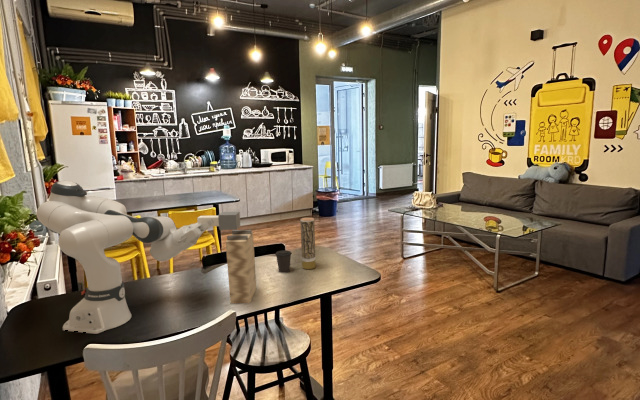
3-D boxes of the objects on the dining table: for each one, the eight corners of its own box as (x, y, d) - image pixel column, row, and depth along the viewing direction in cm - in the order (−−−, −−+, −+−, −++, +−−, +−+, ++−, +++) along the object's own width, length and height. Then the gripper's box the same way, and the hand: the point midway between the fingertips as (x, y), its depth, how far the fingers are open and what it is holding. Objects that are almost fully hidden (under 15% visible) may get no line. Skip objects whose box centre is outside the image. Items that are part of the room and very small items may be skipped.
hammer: (197, 230, 154) (195, 215, 152) (202, 226, 159) (201, 212, 158) (236, 229, 153) (235, 214, 152) (240, 225, 159) (239, 211, 158)
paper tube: (314, 270, 189) (312, 220, 184) (300, 269, 190) (298, 220, 186) (316, 265, 196) (315, 217, 191) (304, 264, 197) (302, 217, 192)
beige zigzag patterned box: (230, 303, 156) (225, 238, 150) (238, 289, 169) (234, 228, 164) (250, 303, 155) (245, 237, 150) (256, 288, 169) (252, 228, 164)
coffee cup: (272, 271, 189) (271, 251, 187) (284, 266, 195) (284, 247, 193) (283, 275, 184) (282, 255, 182) (295, 270, 190) (295, 250, 188)
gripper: (171, 237, 147) (201, 219, 145) (191, 224, 167) (217, 208, 165) (181, 250, 148) (210, 233, 146) (199, 236, 168) (225, 220, 166)
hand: (214, 219), depth 156 cm, fingers closed on hammer, 4 cm apart
